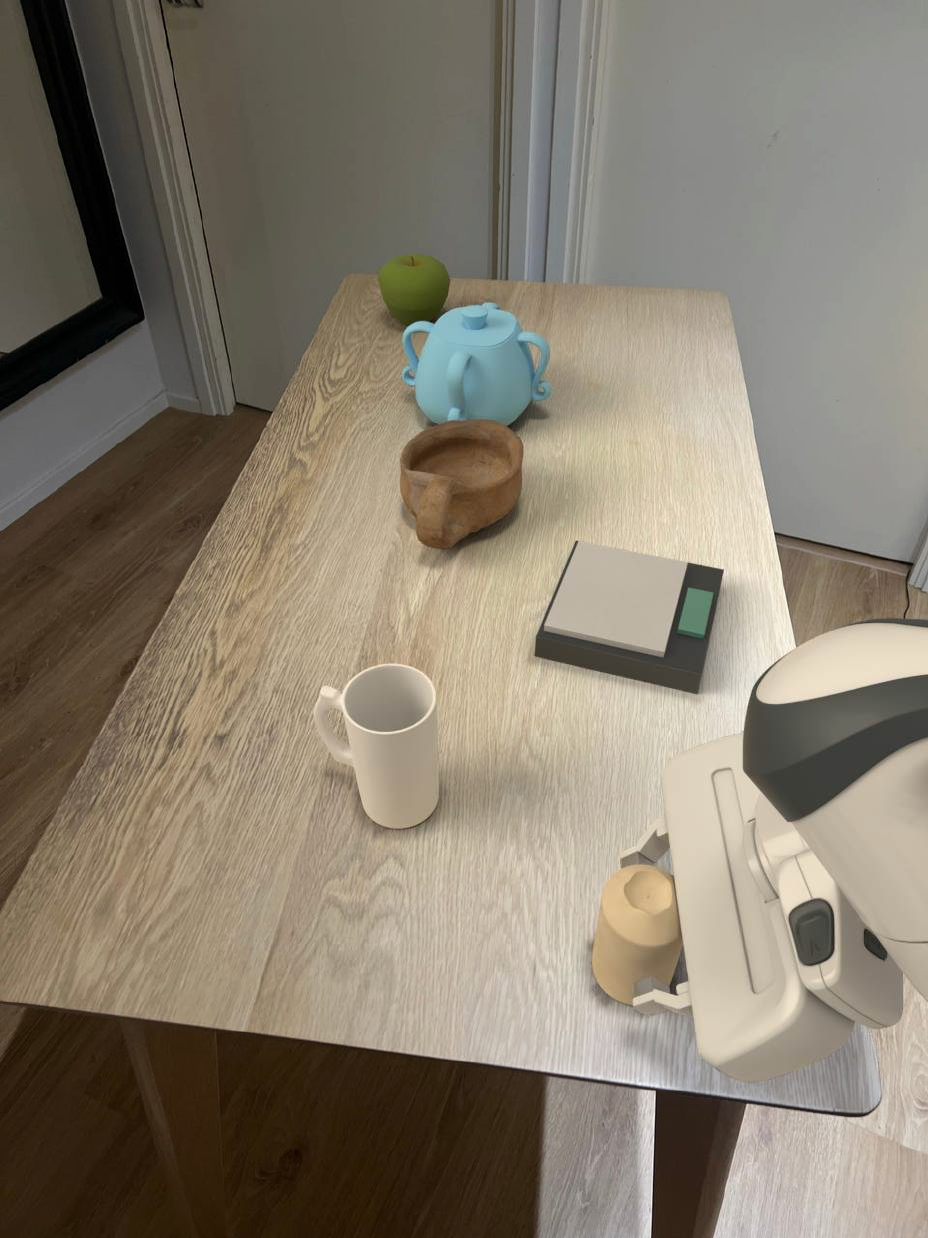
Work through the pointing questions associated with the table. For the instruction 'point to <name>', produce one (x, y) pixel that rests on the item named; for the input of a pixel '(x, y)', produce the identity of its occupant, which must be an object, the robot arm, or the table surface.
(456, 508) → the bowl
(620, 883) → the candle
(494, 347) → the decorative pot
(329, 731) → the mug
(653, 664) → the scale
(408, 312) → the apple
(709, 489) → the table surface
